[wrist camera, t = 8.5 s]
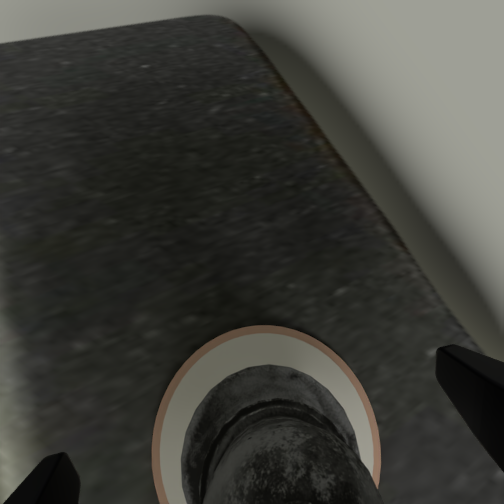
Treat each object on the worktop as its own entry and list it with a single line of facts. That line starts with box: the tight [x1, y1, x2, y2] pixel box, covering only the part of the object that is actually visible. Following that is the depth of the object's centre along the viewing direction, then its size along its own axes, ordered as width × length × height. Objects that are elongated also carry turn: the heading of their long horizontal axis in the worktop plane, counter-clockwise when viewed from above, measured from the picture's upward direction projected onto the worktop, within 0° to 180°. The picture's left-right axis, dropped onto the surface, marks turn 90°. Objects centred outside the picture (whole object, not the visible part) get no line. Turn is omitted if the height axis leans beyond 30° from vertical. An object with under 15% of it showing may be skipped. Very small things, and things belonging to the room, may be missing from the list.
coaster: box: [152, 325, 381, 504], centre depth 15 cm, size 10×10×1 cm
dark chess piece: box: [181, 364, 384, 504], centre depth 9 cm, size 6×6×12 cm
